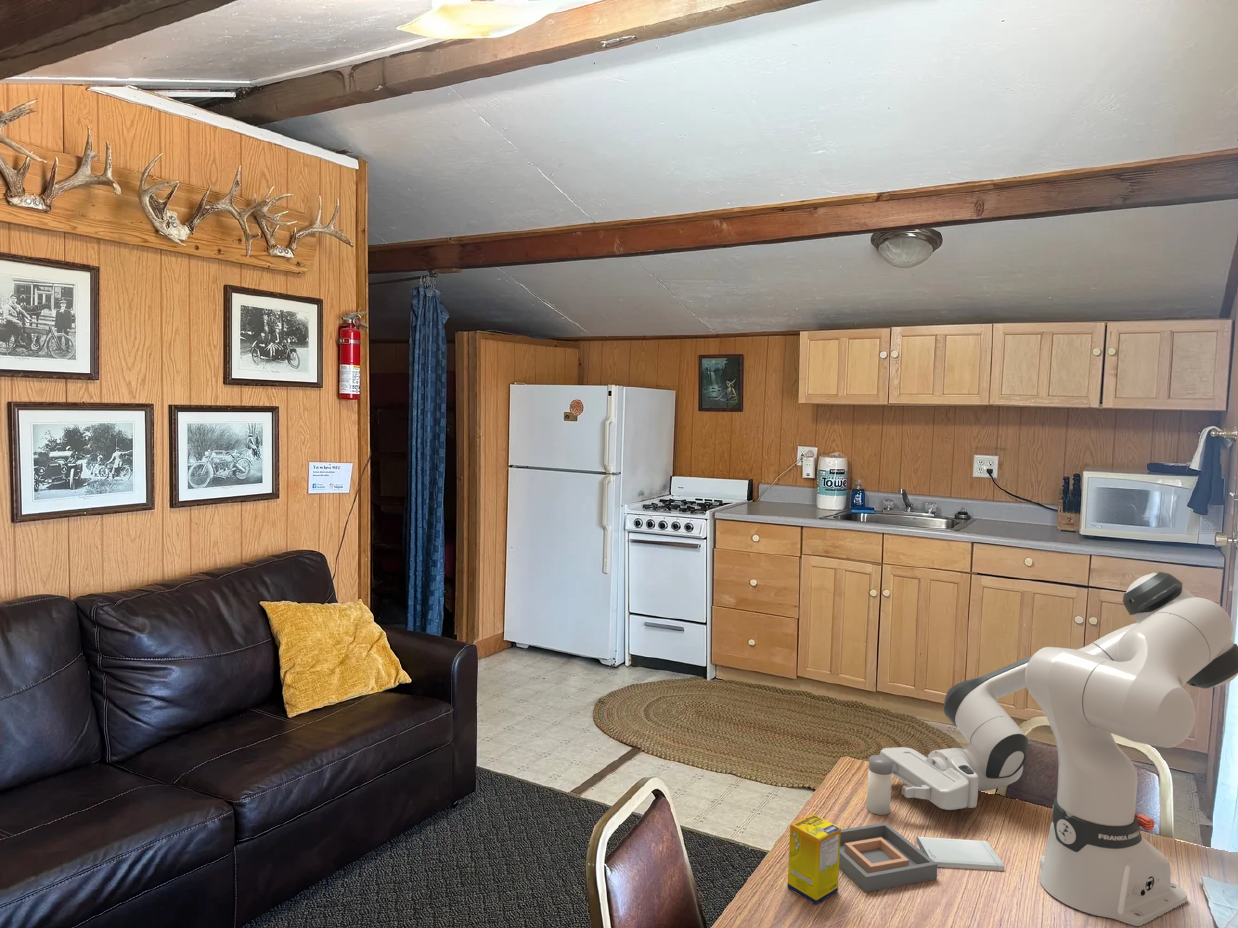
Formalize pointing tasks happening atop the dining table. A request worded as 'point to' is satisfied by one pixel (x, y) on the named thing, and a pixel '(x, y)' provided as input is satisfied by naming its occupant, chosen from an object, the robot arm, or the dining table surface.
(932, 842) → the hard drive
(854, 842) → the walled box
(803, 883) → the supplement box
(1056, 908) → the dining table surface
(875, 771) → the white bottle
